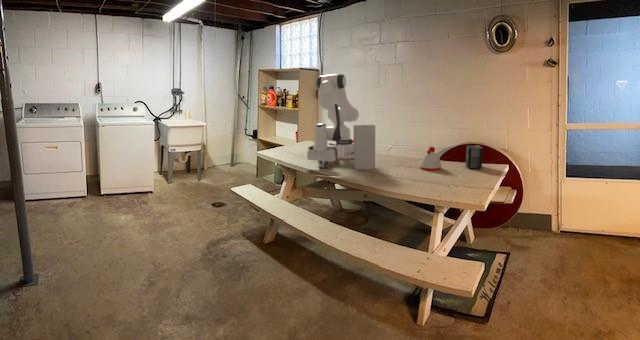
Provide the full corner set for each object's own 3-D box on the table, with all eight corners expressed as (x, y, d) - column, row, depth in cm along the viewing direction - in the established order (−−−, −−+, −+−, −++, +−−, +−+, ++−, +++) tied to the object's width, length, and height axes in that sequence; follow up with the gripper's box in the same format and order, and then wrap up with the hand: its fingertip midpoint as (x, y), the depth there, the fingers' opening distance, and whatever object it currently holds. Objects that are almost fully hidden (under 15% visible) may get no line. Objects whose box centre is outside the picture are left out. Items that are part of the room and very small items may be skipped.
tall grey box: (373, 167, 293) (374, 124, 287) (375, 169, 288) (375, 125, 281) (353, 167, 293) (353, 125, 286) (354, 169, 288) (354, 126, 281)
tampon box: (482, 169, 279) (483, 147, 276) (467, 169, 281) (468, 147, 278) (479, 165, 290) (480, 145, 287) (465, 165, 292) (466, 144, 288)
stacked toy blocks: (327, 162, 311) (326, 145, 308) (339, 163, 307) (339, 146, 304) (315, 168, 293) (314, 150, 290) (328, 169, 289) (328, 151, 286)
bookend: (320, 166, 295) (320, 158, 293) (328, 167, 292) (328, 158, 291) (318, 167, 292) (318, 159, 291) (326, 168, 290) (326, 159, 288)
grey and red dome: (444, 168, 285) (445, 146, 282) (433, 171, 276) (434, 149, 273) (427, 165, 295) (428, 144, 292) (415, 168, 286) (416, 147, 283)
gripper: (336, 147, 284) (337, 166, 287) (309, 145, 293) (310, 164, 296) (333, 148, 279) (333, 168, 282) (305, 147, 287) (306, 166, 290)
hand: (321, 166), depth 289 cm, fingers closed
